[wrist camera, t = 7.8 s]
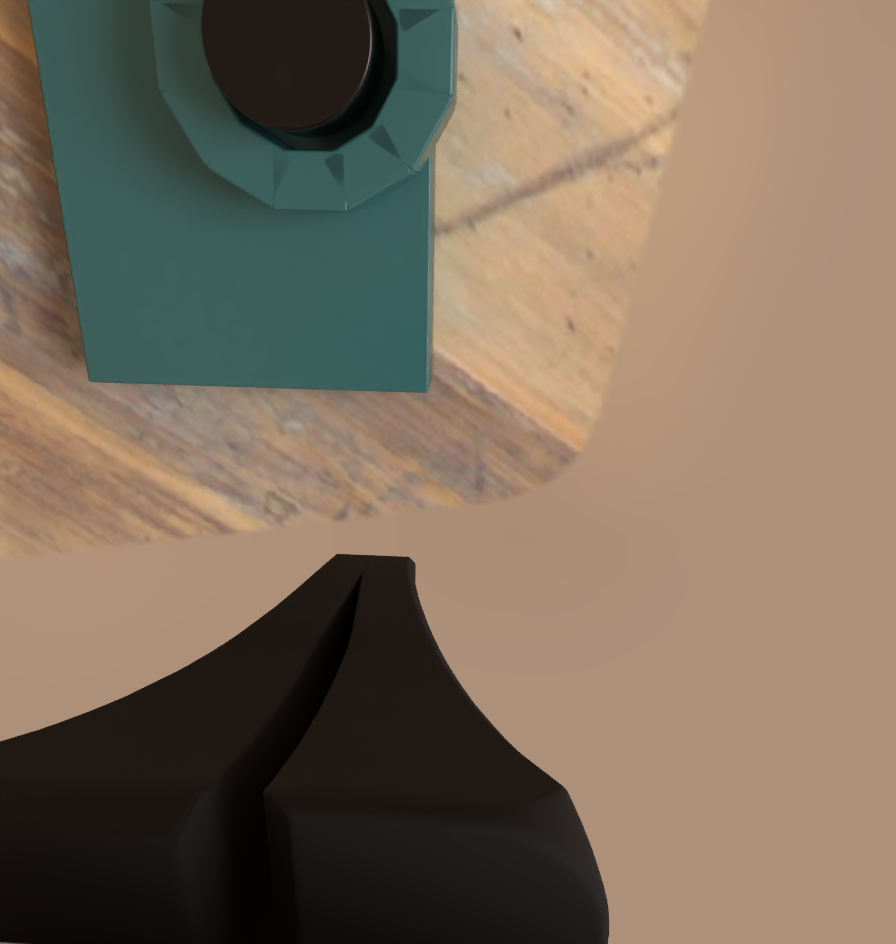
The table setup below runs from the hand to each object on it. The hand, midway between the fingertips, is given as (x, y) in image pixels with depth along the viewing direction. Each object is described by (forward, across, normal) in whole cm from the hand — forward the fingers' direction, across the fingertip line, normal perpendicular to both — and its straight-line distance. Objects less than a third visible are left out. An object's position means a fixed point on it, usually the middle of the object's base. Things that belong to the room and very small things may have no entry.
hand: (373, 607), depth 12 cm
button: (+6, +2, -9) cm, 11 cm away
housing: (+10, +4, -8) cm, 13 cm away
